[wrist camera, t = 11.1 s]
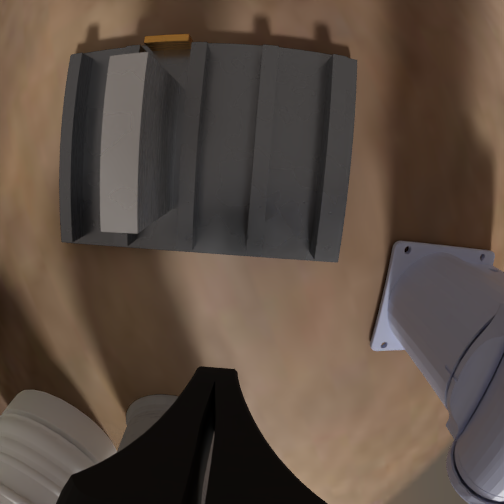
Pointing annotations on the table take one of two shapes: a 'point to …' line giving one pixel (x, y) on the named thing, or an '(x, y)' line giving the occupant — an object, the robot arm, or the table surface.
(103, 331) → the table surface
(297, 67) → the rack
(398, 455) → the table surface
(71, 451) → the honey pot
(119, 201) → the panel
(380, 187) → the table surface
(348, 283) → the table surface
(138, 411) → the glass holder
